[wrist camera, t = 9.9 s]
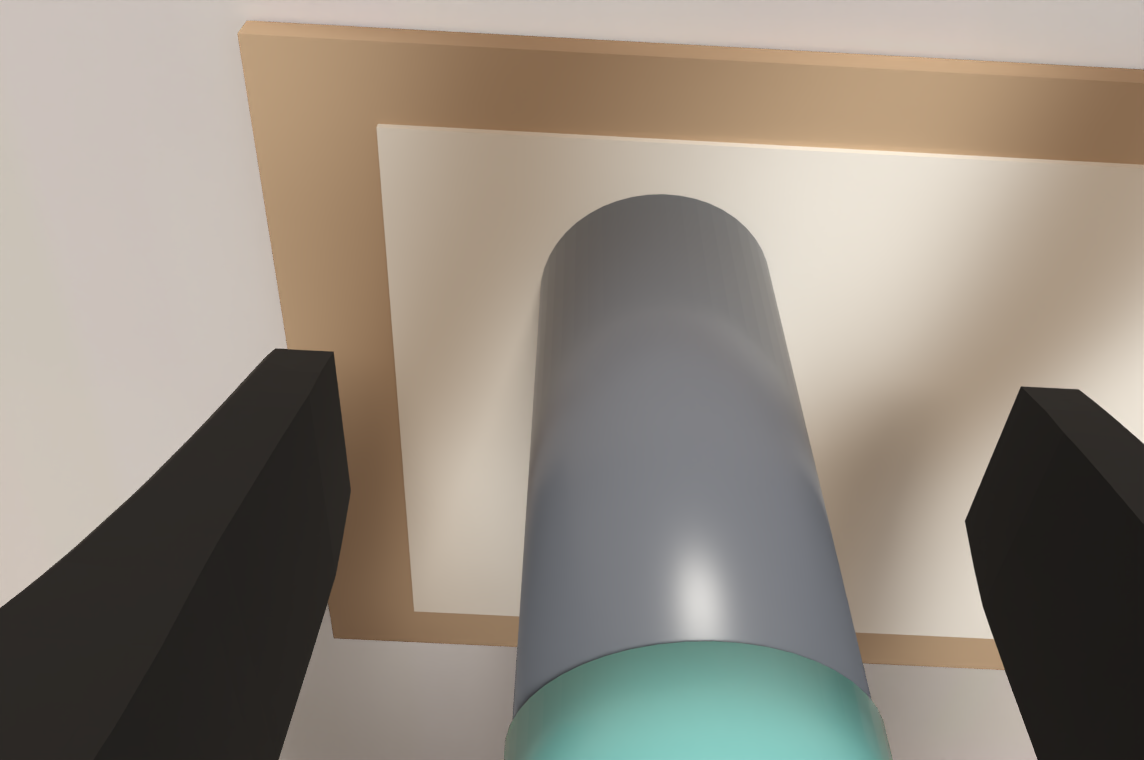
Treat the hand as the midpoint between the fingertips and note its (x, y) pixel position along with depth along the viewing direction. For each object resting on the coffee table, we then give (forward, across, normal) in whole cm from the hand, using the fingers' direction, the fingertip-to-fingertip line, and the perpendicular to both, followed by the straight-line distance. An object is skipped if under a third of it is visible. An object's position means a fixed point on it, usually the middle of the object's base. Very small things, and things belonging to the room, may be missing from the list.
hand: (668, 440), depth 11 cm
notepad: (+3, -4, +2) cm, 6 cm away
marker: (+3, 0, 0) cm, 3 cm away
